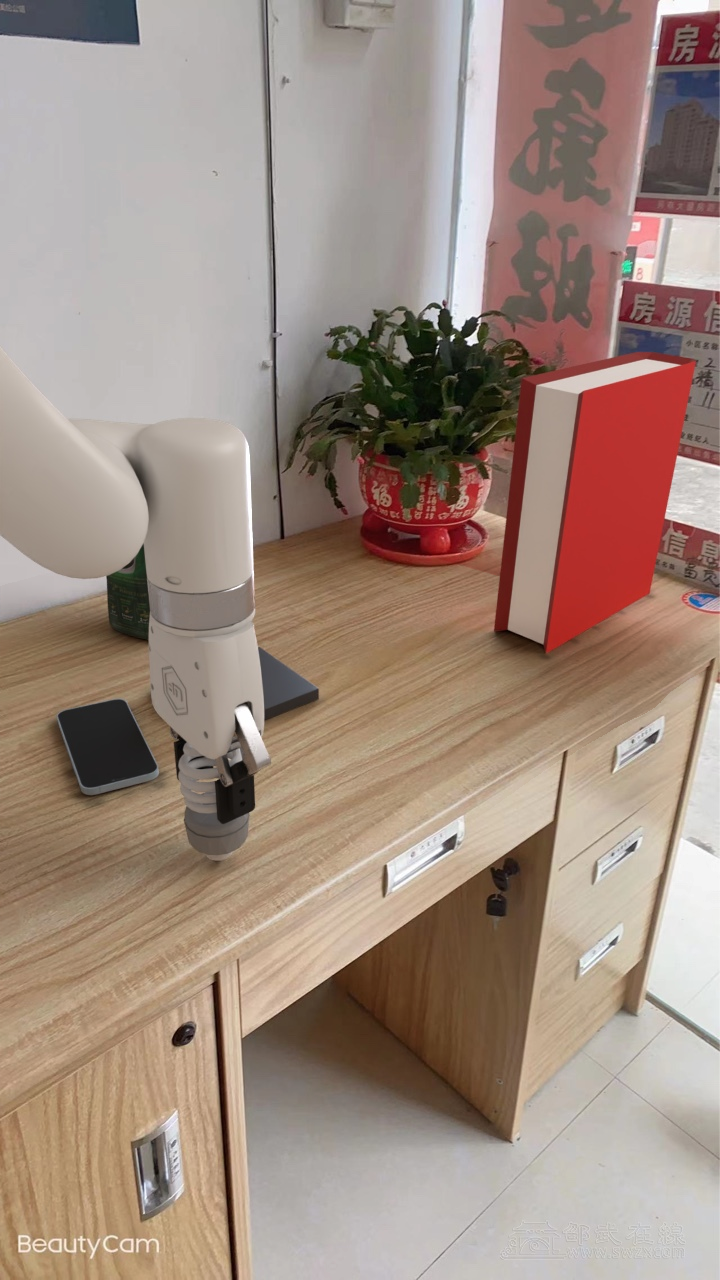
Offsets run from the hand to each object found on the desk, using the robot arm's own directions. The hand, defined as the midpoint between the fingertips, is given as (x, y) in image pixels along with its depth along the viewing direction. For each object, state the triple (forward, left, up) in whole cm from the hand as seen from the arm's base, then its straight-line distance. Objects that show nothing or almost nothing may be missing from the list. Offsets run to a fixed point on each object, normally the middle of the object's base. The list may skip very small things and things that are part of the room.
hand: (215, 793), depth 72 cm
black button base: (+15, +21, -7) cm, 27 cm away
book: (+64, +13, -7) cm, 65 cm away
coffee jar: (+15, +42, -7) cm, 46 cm away
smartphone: (-1, +21, -7) cm, 22 cm away
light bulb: (0, 0, -7) cm, 7 cm away
